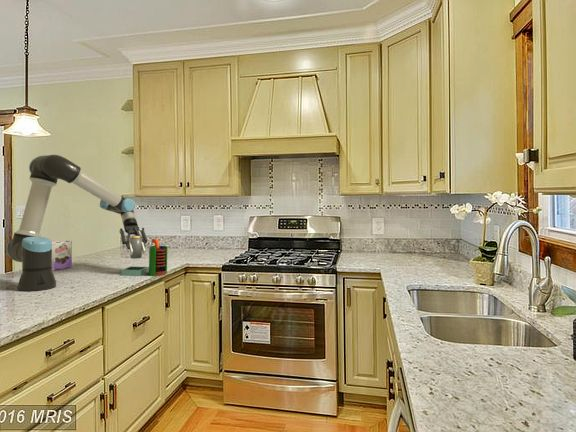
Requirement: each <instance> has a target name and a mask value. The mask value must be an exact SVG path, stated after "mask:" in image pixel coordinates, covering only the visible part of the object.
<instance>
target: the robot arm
mask: <svg viewBox="0 0 576 432" xmlns="http://www.w3.org/2000/svg"><path fill="white" fill-rule="evenodd" d="M28 169H29V172H30V175H29V181H31V185H30V188H29V189H30V190H29V193H28V197H27V201H26V203H25V207H24V211H23V214H22V217H21V218H22V219H21V221H20V225H19V228H18V230H15V232H14V233H13V236H12V238H11V240H9V241H8V243H7V244H6V248H5V250H6V251H5V252H6V254H7V256H8V258H10V259H11V260H13V261H15V262H17V263H21V268H22V269H21V270H22V271H21V275H20V277H19V280H18V283H17V290H18V291H22V292H34V291H35V292H36V291H37V292H38V291H45V290H49V289H50V290H51V289H53V288H56V287H57V280H56V277H55V275H54V272H53V271H52V242H53V241H52V239H50V238H49V237H45V236H42V235H41V234H40V233H41V229H42V225H43V221H44V218H45V214H46V210H47V206H48V203H49V199H50V196H51V192H52V189H53V187H55V186H57V183H58V180H61V181H63V182H66V183H68V184H73V185H75V186H77V187H79V188H80V189H82V190H84V191H86V192H88V193H89V194H91V195H92V196H94V197H96V198H97V199H100V202H99V207H100V208H101V209H103V210H105V211H109V212H113V213H115V214H118V215H120V216H121V221H122V224H123V228H120V229H119V234H120V236H121V243H122V245H125V246H126V248H127V250H129V253H130V254H131V255H132V253H133V249H132V245H131V242H130V237H131V235H132V236H140V238H142V255H143V254H144V255H145V253H146V244H147V243H148V237H147V235H146V232H145V228H144V227H139V225H138V222H137V221H138V220H137V217H136V215H135V211H134V209H135V208H136V204H135V202H134V200H133V199H131V198H127V197H124V196H123V195H121V194H119V193H118V192H116V191H115V190H113V189H111V188H110V187H108V186H107V185H105V184H104V183H102V182H101V181H99V180H98V179H96V178H94V177H92V176H91V175H90V174H88V173H86V172H85V171H83V170H82V167H80V166H78V165H77V164H76V163H74V162H73V161H71V160H69V159H68V158H66V157H64V156H61V155H59V154H50V155H49V154H48V155H44V154H43V155H39V156H36V157H35V158H33V159H32V160H31V161H30V163H29V167H28ZM125 233H127V235H126V236H125Z"/></svg>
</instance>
